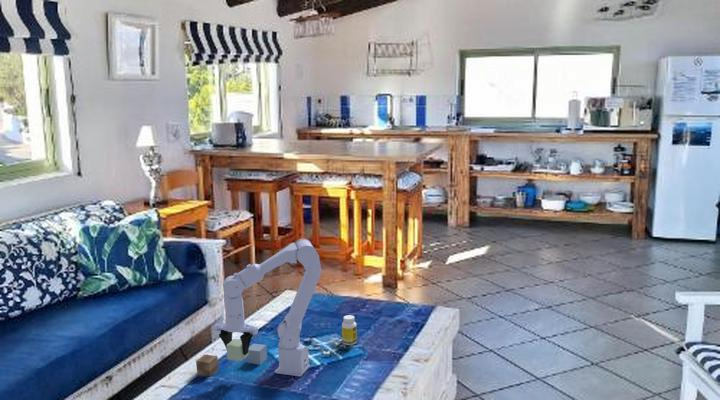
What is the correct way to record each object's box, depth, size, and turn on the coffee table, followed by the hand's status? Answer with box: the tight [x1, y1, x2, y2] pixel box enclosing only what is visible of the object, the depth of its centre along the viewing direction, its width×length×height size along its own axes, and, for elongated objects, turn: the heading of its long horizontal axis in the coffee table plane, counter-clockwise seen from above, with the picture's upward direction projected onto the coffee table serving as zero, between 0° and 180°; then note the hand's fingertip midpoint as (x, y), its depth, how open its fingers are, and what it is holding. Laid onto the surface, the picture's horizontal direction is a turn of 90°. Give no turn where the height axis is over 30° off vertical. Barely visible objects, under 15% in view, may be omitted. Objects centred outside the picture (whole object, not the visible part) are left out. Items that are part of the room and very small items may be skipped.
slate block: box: [246, 343, 268, 366], centre depth 213 cm, size 5×5×5 cm
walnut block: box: [195, 354, 219, 378], centre depth 205 cm, size 5×5×5 cm
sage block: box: [226, 338, 249, 362], centre depth 200 cm, size 5×5×5 cm
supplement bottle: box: [341, 314, 358, 346], centre depth 224 cm, size 5×5×10 cm
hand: (238, 352), depth 200 cm, fingers closed on sage block, 5 cm apart
